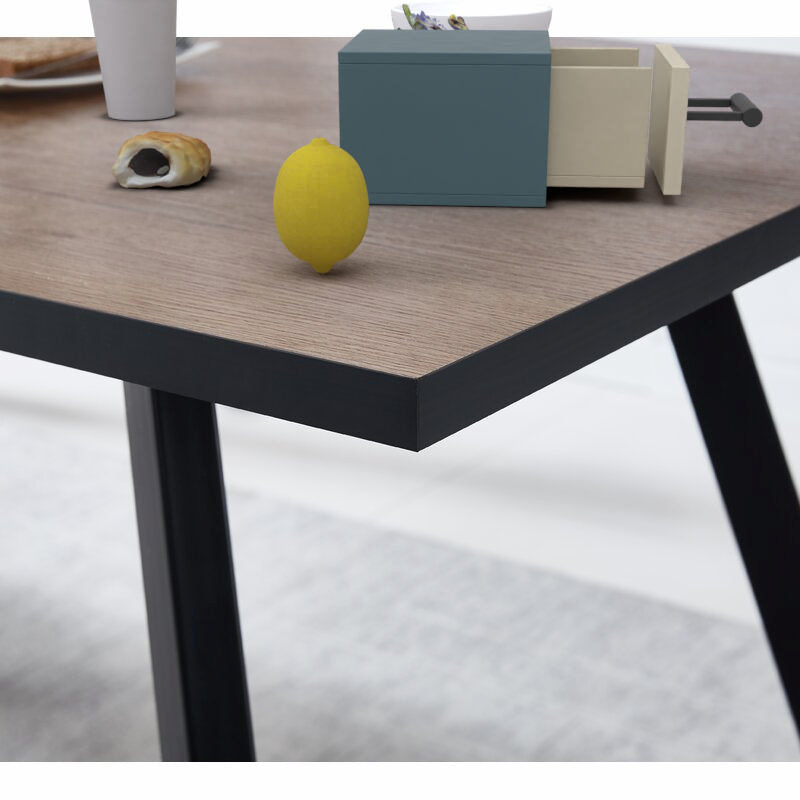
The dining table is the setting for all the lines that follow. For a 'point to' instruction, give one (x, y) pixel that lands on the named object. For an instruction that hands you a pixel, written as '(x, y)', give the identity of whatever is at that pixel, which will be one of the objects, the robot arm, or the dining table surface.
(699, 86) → the dining table surface
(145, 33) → the coffee cup
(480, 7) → the bowl
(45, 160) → the dining table surface
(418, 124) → the cabinet
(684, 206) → the dining table surface
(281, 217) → the lemon
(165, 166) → the pastry
